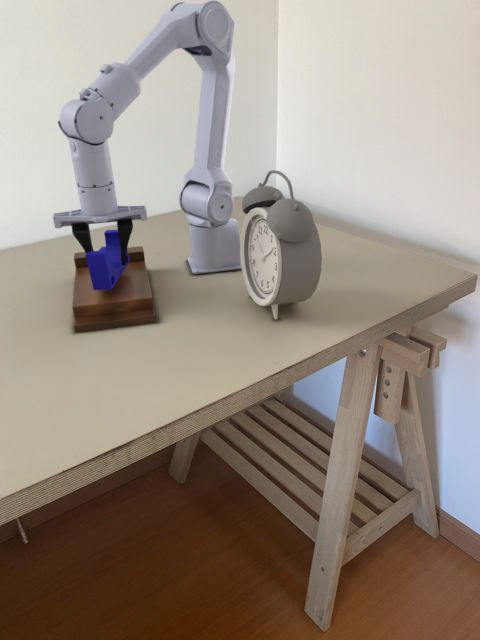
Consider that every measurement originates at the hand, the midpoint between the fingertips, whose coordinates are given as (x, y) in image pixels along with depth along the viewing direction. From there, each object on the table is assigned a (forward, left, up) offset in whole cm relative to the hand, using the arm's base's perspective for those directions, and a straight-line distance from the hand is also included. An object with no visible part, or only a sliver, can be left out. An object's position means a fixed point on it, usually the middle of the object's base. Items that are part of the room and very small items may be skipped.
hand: (108, 264), depth 95 cm
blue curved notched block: (0, 0, -2) cm, 2 cm away
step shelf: (0, 0, -6) cm, 6 cm away
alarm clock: (-27, +11, -6) cm, 30 cm away
